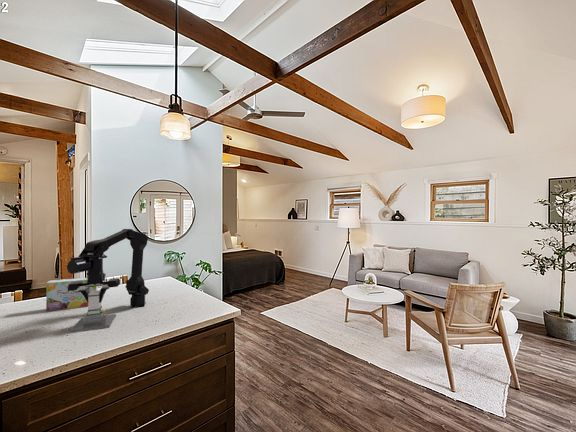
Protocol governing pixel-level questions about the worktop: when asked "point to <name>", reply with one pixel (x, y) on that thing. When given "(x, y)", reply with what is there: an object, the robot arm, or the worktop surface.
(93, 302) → the gray rectangular plug
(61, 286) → the snack box
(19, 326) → the worktop surface
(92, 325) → the stand base
